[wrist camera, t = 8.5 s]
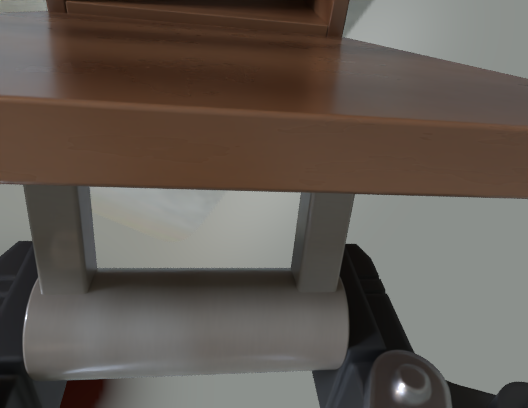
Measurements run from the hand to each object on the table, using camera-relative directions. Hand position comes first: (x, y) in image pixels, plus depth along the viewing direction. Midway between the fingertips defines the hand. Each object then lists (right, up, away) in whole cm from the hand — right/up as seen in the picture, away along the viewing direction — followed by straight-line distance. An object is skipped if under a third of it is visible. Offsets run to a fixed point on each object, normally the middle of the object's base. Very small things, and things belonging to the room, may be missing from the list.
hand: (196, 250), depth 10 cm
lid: (0, +6, +1) cm, 6 cm away
